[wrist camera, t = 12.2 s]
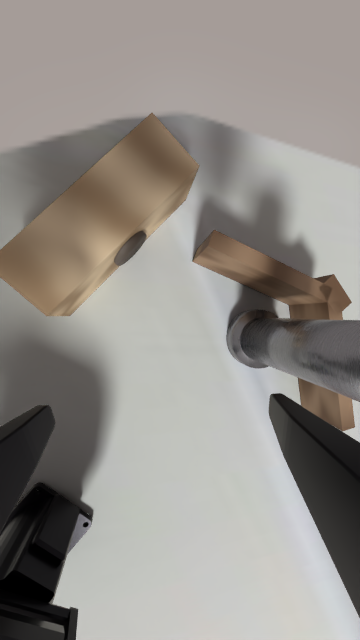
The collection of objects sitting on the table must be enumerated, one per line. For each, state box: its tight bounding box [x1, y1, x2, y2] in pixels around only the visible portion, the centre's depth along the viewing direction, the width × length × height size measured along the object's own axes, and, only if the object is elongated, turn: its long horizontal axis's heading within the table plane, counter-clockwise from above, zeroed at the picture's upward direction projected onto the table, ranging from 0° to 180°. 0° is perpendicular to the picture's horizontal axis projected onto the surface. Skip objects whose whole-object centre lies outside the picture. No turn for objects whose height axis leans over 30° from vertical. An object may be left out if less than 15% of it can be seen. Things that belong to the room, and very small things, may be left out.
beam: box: [0, 113, 199, 316], centre depth 18 cm, size 16×5×5 cm, turn 137°
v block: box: [193, 230, 355, 431], centre depth 21 cm, size 8×22×5 cm, turn 39°
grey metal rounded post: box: [227, 310, 360, 402], centre depth 16 cm, size 6×6×14 cm
